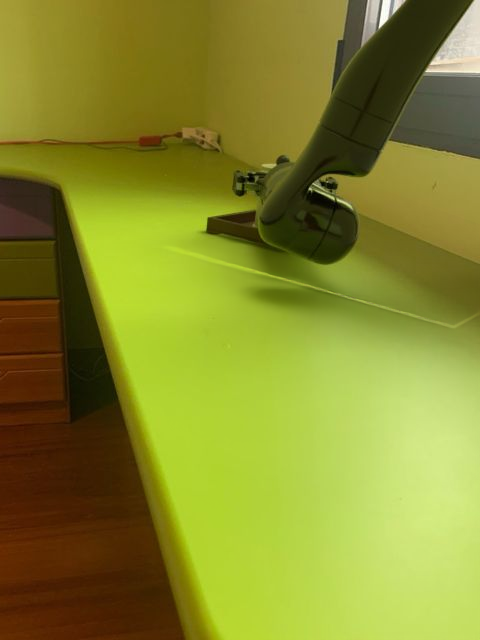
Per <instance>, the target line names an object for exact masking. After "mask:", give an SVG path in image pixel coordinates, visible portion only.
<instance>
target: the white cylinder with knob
mask: <svg viewBox="0 0 480 640" xmlns="http://www.w3.org/2000/svg"><path fill="white" fill-rule="evenodd" d="M285 162H291V159H290V158H289V156H288V155H286V154H281V155H279V156H278V157H277V158H276V159H275V163H263V164H261V167H260V171H270V170H271V169H272V168H274V167H275V166H277V165H279V164H282V163H285ZM261 207H262V203H261V200H260V197H257V201H256V216H255V224H253V225H252V227H256V228H258V216H259V212H260V209H261Z"/></svg>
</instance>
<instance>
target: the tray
mask: <svg viewBox="0 0 480 640" xmlns="http://www.w3.org/2000/svg"><path fill="white" fill-rule="evenodd" d="M255 216H256V209H248V210H243V211H237V212H231V213H225V214H219V215H214V216H207V219H206V229H205V232H206V233H208V234H212V235H221V234H223V235H225V236H226V235H227V236H230V237H234V238H238V239H243V240H247V241H250V242H254V243H258V244H262V245H266V246H269V247H272V246H271V245H269V244H267V243H266V242H264V241H263V239H262V238H261V236H260V234H259V230H258V228H256V227H252V225H253V224H255Z"/></svg>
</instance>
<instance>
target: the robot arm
mask: <svg viewBox="0 0 480 640" xmlns="http://www.w3.org/2000/svg"><path fill="white" fill-rule="evenodd" d="M474 2H475V0H404V1H403V3H401V4H400V6H398V8H397V9H396V10H395V11H394V12H393V13H392V15H391V16H390V17H389V18H388V19H387V20H386V21H385V22H384V23H383V24H382V25H381V26H380V27H379V28H378V29H377V30H376V31H375V32H374V33H373V34H372V35H371V36H370V37H369V38H368V39H367V40H366V41H365V42H364V44H363V45H362V46H360V48H359V49H358V50H357V52H356V53H355V54H353V55H354V56H353V57H352V58H351V59H350V60H349V62H348V63H347V65H346V66H345V68H344V70H343V71H342V73H341V74H340V76H339V77H338V80H337V82H336V84H335V86H334V89H333V90H332V93H331V95H330V97H329V99H328V102H327V103H326V106H325V108H324V110H323V112H322V114H321V117H320V119H319V121H318V123H317V125H316V128H315V130H314V131H313V133H312V135H311V137H310V138H309V139H310V140H308V142H307V144H306V145H305V147H304V149H303V151H302V152H301V154H300V155H299V157H297V159H296V160H295V161H290V162H285V163H282V164H279V165H277V166H275V167H274V168H272V169H271V170H270V171H261V170H255V169H254V168H250V169H249V170H248V171H244V172H243V171H241V170H239V169H238V170H233V179H232V186H231V190H232V192H233V193H234V196H237V197H244V196H245V195H248V192H252V194H253V196H254V197H257V198H258V197H260V200H261V203H262V207H261V209H260V212H259V216H258V230H259V234H260V236H261V238H262V239H263V241H264V242H266V243H267V244H269V245H268V246H270V245H271V246H270V247H274V248H277V249H279V250H281V251H284V252H287V253H289V254H292V255H294V256H297V257H299V258H302V259H304V260H307V261H309V262H311V263H314V264H317V265H320V266H330V265H334V264H337V263H340V262H341V261H343V260H344V259H345V258H346V257H347V256H348V255H349V254H350V253H351V252H352V250H353V249H354V247H355V245H356V243H357V241H358V239H359V235H360V231H361V229H360V228H361V221H360V220H361V219H360V215H359V212H358V210H357V207H356V206H355V205H354V204H353V203H352V202H350V200H347V199H346V198H343V197H342V196H339V195H338V194H337V193H338V188H339V182H338V181H337V180H336V178H335V177H333V176H329V175H338V176H343V177H349V178H358V179H359V178H364V177H367V176H368V175H369V174H371V172H372V171H373V170H374V168H375V167H376V165H377V163H378V161H379V159H380V157H381V155H382V154H383V151H384V150H385V147H386V145H387V144H388V142H389V140H390V138H391V136H392V134H393V133H394V130H395V128H396V126H397V125H398V123H399V121H400V119H401V117H402V115H403V113H404V111H405V109H406V107H407V105H408V103H409V101H410V100H411V97H412V96H413V94H414V92H415V90H416V89H417V86H418V85H419V83H420V82H421V80H422V79H423V77H424V75H425V74H426V72H427V71H428V69H429V67H430V66H431V64H432V62H433V61H434V59H435V58H436V56H437V55H438V53H439V52H440V51H441V49H442V47H443V46H444V44H445V43H446V42H447V40H448V39H449V37H450V36H451V35H452V33H453V32H454V30H455V29H456V28H457V26H458V24H459V23H460V22H461V20H462V19H463V17H464V16H465V15H466V14H467V11H468V10H469V9H470V7H471V6H472V5H473V3H474ZM324 176H328V177H325V180H324V179H323V180H322V177H324Z"/></svg>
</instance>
